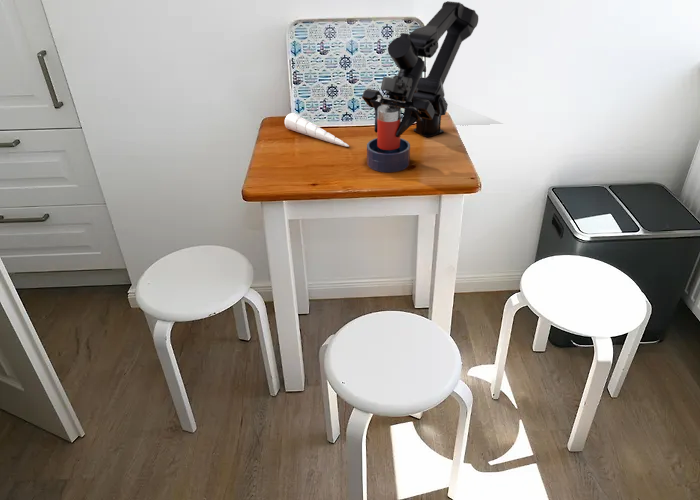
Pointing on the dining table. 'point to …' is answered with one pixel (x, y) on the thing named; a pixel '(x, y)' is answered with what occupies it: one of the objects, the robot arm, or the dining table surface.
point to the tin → (388, 128)
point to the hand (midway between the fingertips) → (386, 134)
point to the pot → (388, 157)
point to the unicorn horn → (310, 129)
